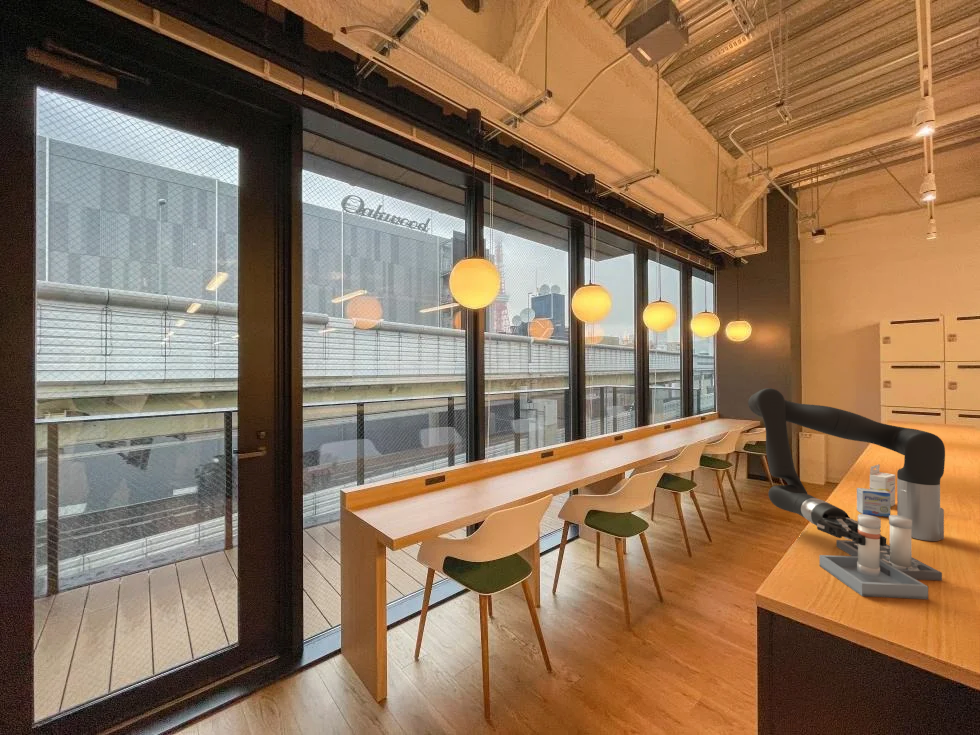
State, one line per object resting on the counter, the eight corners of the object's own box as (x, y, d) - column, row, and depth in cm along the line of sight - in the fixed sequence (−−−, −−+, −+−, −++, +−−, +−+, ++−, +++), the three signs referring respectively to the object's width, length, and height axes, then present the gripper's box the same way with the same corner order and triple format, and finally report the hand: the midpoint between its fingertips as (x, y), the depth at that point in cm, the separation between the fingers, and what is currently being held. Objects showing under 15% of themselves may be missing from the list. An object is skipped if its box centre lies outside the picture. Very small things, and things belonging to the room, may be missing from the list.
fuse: (902, 567, 106) (901, 515, 106) (917, 575, 102) (916, 521, 102) (884, 566, 107) (884, 514, 107) (898, 574, 103) (898, 520, 103)
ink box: (886, 509, 148) (886, 469, 148) (869, 504, 152) (869, 466, 152) (896, 505, 152) (896, 466, 152) (878, 501, 156) (878, 463, 156)
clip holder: (881, 548, 117) (881, 539, 117) (941, 580, 100) (942, 570, 100) (836, 546, 119) (836, 538, 118) (888, 578, 101) (888, 568, 101)
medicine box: (862, 514, 143) (862, 490, 143) (856, 510, 147) (856, 487, 147) (891, 517, 140) (890, 493, 140) (884, 513, 144) (884, 489, 144)
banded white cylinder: (870, 568, 102) (871, 514, 101) (884, 577, 98) (885, 521, 97) (852, 567, 102) (853, 514, 102) (866, 576, 98) (867, 520, 98)
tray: (876, 568, 106) (876, 557, 106) (928, 599, 92) (928, 586, 92) (819, 566, 108) (819, 555, 107) (862, 596, 94) (862, 583, 94)
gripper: (797, 501, 116) (843, 525, 99) (850, 503, 114) (906, 528, 97) (797, 527, 116) (842, 555, 99) (850, 529, 114) (906, 558, 97)
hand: (874, 541), depth 98 cm, fingers closed on banded white cylinder, 4 cm apart
